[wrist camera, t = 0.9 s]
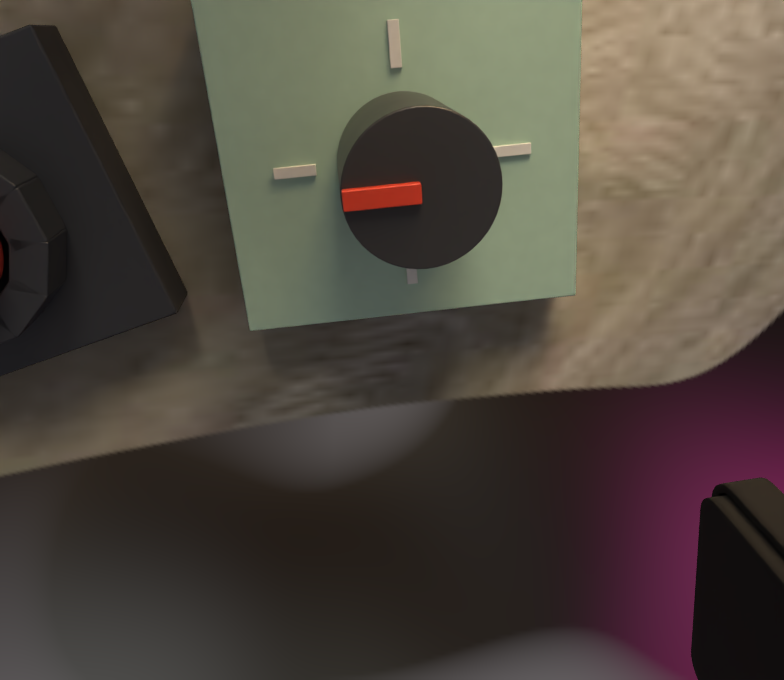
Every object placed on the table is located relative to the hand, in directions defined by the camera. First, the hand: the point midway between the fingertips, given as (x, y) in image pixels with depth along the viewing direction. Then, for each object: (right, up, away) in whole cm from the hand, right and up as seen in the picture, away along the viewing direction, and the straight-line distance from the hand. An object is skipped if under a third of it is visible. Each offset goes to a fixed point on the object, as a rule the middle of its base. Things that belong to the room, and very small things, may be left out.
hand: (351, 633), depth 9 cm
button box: (-14, +8, +17) cm, 23 cm away
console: (+1, +11, +17) cm, 20 cm away
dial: (+1, +10, +15) cm, 17 cm away
